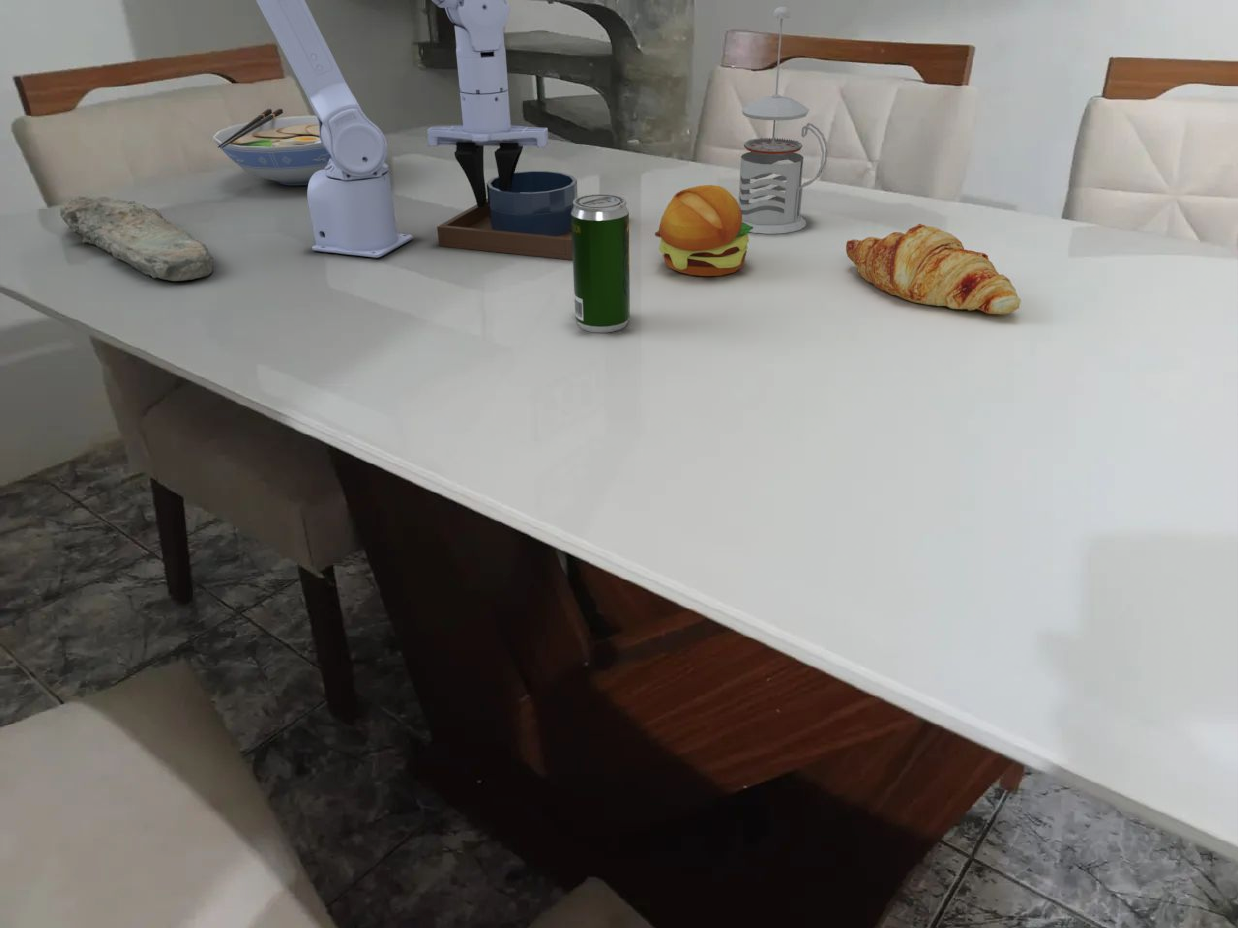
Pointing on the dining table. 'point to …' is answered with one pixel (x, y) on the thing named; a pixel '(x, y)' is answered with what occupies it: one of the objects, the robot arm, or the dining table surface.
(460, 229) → the serving tray
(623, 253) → the beer can
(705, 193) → the cheeseburger
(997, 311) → the croissant
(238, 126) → the ramen bowl
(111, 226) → the elongated rock
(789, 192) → the french press
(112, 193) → the dining table surface
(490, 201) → the blue bowl
